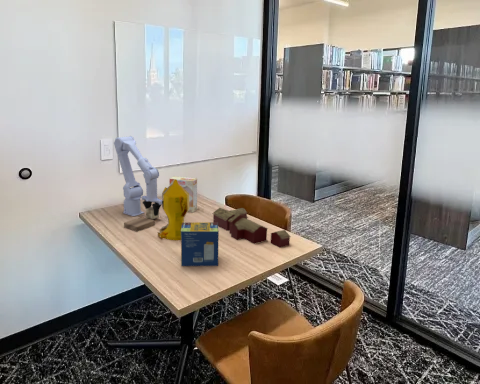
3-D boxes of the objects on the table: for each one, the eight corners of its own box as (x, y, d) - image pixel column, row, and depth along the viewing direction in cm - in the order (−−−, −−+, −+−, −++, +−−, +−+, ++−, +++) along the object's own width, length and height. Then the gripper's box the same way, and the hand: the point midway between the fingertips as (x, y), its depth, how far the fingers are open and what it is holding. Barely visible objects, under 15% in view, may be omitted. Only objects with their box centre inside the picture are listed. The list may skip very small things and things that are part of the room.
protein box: (182, 255, 160) (182, 222, 156) (217, 255, 161) (218, 222, 157) (180, 266, 150) (180, 231, 146) (218, 266, 151) (219, 231, 147)
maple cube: (146, 217, 202) (145, 208, 201) (152, 215, 207) (152, 206, 205) (152, 219, 200) (152, 210, 199) (159, 216, 204) (158, 208, 203)
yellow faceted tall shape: (169, 246, 169) (168, 187, 161) (149, 229, 188) (147, 176, 180) (202, 238, 178) (202, 183, 171) (180, 223, 198) (179, 173, 190)
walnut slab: (124, 228, 190) (123, 222, 189) (141, 221, 200) (141, 216, 199) (137, 232, 185) (137, 227, 184) (154, 225, 194) (154, 220, 194)
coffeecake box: (169, 210, 219) (168, 178, 214) (174, 206, 226) (173, 175, 221) (193, 212, 216) (193, 180, 211) (197, 209, 223) (197, 177, 218)
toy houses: (209, 224, 198) (209, 207, 195) (239, 218, 210) (240, 201, 207) (262, 254, 163) (263, 233, 161) (295, 244, 175) (296, 225, 173)
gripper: (136, 189, 200) (137, 213, 203) (155, 194, 192) (156, 219, 196) (146, 187, 205) (147, 210, 209) (165, 191, 198) (165, 215, 201)
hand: (152, 214), depth 203 cm, fingers closed on maple cube, 5 cm apart
